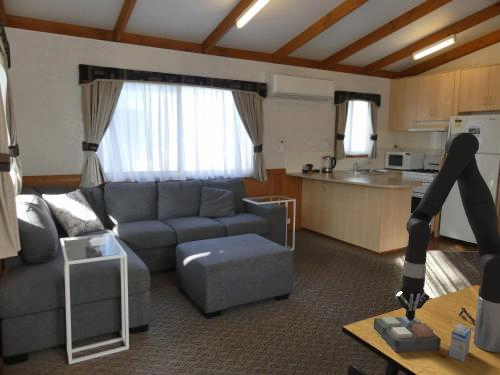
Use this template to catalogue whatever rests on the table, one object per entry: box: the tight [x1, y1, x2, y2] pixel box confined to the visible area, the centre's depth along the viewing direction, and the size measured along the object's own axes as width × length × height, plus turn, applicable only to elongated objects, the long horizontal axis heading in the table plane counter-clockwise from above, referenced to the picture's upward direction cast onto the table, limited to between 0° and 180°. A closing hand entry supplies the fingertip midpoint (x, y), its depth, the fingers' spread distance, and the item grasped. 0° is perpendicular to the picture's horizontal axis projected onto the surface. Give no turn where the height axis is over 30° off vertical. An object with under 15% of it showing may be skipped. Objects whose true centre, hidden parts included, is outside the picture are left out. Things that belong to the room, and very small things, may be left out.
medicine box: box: [448, 323, 472, 362], centre depth 128 cm, size 8×4×9 cm, turn 141°
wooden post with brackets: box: [458, 306, 476, 326], centre depth 153 cm, size 2×8×4 cm, turn 21°
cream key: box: [391, 327, 412, 339], centre depth 133 cm, size 5×5×2 cm
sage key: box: [381, 316, 400, 328], centre depth 140 cm, size 5×5×2 cm
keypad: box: [373, 316, 442, 353], centre depth 137 cm, size 16×16×4 cm
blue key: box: [400, 315, 421, 327], centre depth 141 cm, size 5×5×2 cm
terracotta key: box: [412, 323, 434, 338], centre depth 134 cm, size 5×5×2 cm
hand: (409, 319), depth 141 cm, fingers closed
